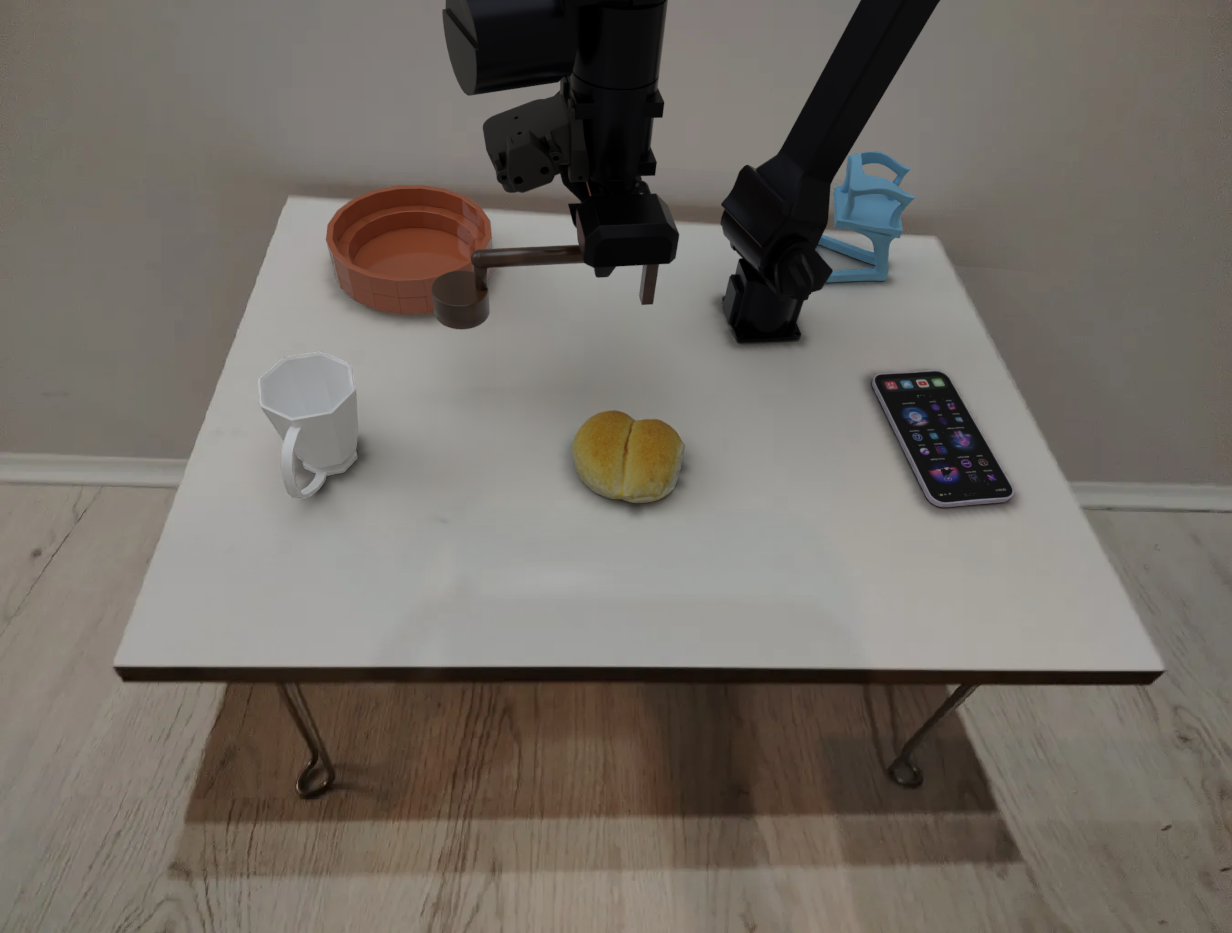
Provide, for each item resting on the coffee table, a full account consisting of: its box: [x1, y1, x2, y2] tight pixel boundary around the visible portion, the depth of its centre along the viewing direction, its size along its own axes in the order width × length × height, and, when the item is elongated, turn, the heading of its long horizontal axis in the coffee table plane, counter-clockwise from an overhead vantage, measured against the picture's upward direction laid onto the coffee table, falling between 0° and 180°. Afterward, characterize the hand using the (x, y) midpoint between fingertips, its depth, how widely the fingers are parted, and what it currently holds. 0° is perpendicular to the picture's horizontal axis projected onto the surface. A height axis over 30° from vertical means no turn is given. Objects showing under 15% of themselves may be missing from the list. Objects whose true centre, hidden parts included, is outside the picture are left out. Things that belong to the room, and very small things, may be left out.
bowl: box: [325, 184, 494, 315], centre depth 76 cm, size 15×15×4 cm
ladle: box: [431, 244, 660, 330], centre depth 62 cm, size 19×4×6 cm, turn 101°
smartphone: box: [871, 369, 1015, 508], centre depth 68 cm, size 8×1×15 cm
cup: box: [257, 350, 359, 500], centre depth 58 cm, size 7×10×8 cm
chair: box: [815, 150, 916, 283], centre depth 79 cm, size 8×8×12 cm
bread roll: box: [571, 409, 686, 504], centre depth 62 cm, size 8×9×4 cm
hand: (599, 269), depth 62 cm, fingers closed on ladle
